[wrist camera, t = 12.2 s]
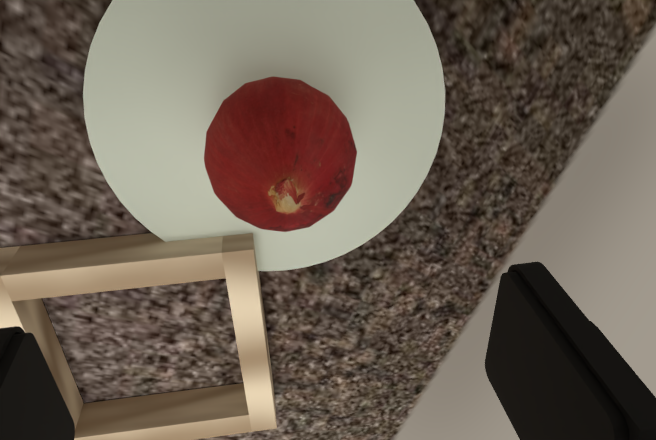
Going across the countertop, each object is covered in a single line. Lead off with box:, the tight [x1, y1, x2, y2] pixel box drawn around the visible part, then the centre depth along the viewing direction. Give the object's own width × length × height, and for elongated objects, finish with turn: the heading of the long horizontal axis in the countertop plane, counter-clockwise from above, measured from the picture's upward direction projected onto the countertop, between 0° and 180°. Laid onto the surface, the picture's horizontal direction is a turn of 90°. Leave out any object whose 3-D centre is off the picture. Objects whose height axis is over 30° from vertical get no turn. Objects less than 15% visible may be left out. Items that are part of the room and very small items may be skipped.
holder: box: [0, 233, 277, 440], centre depth 29 cm, size 13×13×2 cm
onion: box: [204, 76, 357, 232], centre depth 20 cm, size 6×6×8 cm
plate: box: [83, 0, 445, 271], centre depth 24 cm, size 16×16×1 cm
